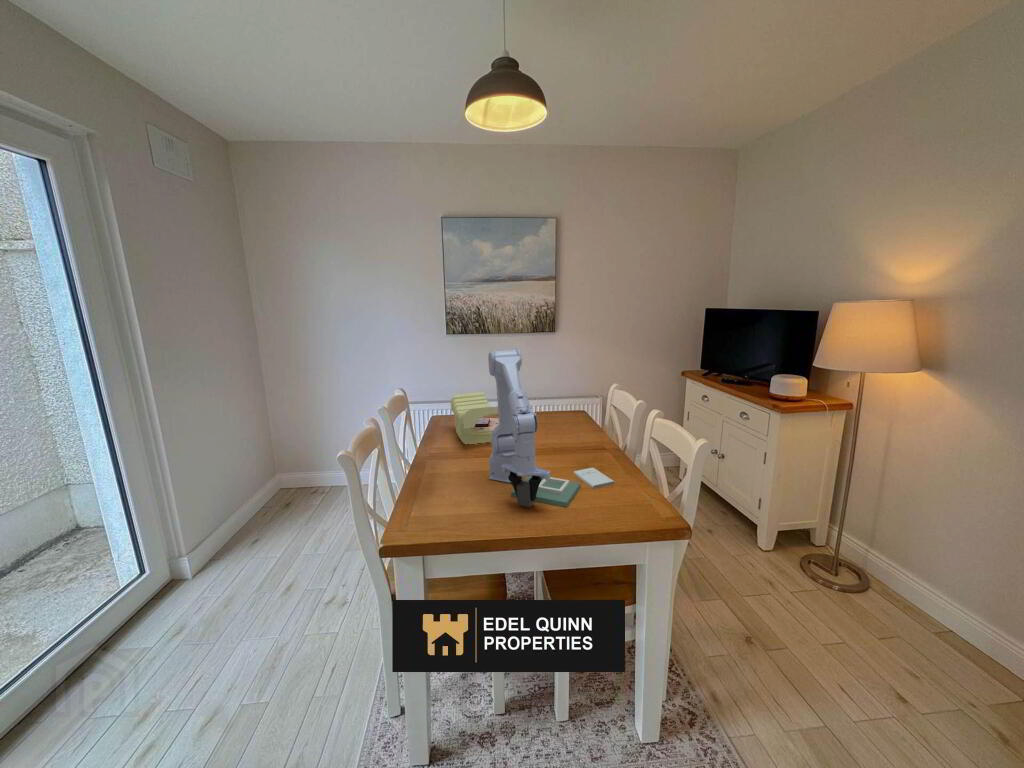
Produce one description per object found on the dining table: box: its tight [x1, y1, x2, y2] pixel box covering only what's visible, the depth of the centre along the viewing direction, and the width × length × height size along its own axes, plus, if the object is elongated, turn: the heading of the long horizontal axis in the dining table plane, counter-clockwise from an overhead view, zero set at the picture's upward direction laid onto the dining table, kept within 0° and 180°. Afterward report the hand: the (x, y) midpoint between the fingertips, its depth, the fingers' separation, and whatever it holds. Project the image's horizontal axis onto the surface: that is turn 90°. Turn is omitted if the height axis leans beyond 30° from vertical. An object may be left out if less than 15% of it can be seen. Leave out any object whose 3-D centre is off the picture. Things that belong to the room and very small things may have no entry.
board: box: [510, 475, 582, 508], centre depth 126 cm, size 18×14×3 cm
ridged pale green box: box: [450, 391, 498, 446], centre depth 176 cm, size 30×16×18 cm, turn 18°
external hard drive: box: [573, 467, 615, 490], centre depth 135 cm, size 2×8×12 cm
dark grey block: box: [516, 479, 536, 508], centre depth 117 cm, size 4×4×6 cm
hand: (526, 497), depth 117 cm, fingers closed on dark grey block, 4 cm apart
